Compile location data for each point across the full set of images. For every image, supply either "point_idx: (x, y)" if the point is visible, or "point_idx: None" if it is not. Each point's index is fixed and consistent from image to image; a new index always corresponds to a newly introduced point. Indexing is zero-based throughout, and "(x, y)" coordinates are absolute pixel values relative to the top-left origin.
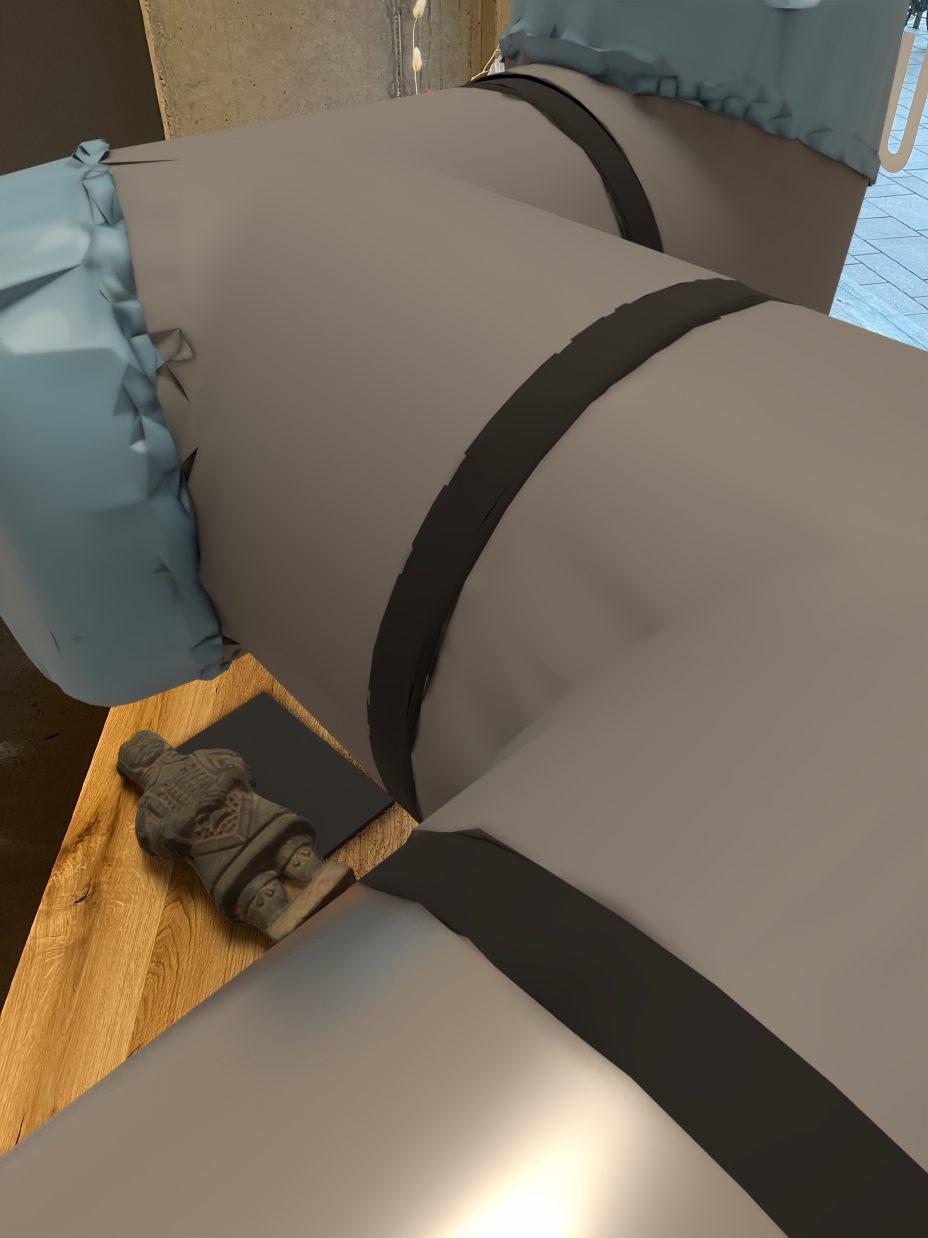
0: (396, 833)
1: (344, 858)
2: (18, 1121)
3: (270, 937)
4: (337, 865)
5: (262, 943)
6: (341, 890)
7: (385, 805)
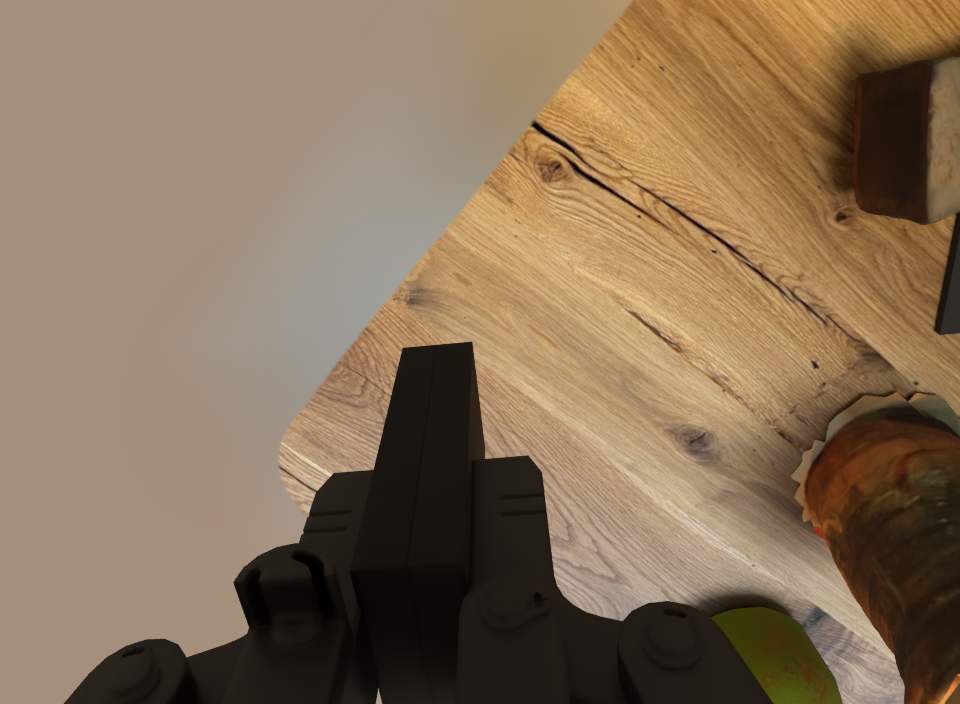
0: (900, 303)
1: (936, 227)
2: None
3: (950, 57)
4: (949, 210)
5: None
6: (912, 190)
7: (944, 319)
